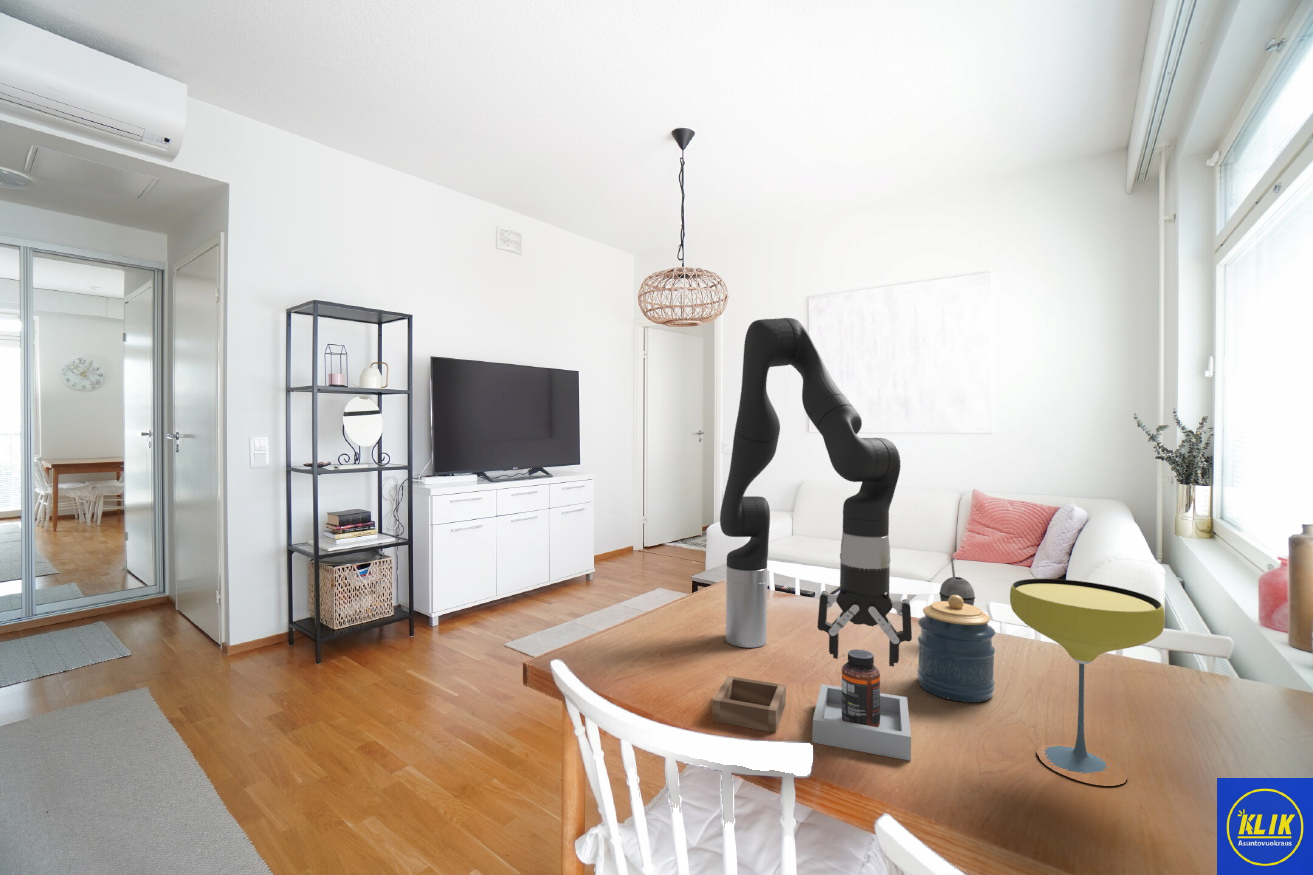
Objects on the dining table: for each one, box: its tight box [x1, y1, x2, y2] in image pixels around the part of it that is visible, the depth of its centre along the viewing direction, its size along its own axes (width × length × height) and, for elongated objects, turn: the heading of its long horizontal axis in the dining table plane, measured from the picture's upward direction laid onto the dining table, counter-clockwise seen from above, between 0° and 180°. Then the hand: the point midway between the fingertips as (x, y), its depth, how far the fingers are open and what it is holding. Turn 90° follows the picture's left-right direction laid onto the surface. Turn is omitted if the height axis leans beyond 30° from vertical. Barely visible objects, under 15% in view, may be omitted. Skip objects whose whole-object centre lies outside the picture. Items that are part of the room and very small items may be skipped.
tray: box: [812, 683, 912, 762], centre depth 95 cm, size 14×14×4 cm
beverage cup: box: [939, 557, 976, 606], centre depth 133 cm, size 7×7×20 cm
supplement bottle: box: [841, 648, 881, 727], centre depth 95 cm, size 6×6×11 cm
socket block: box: [712, 675, 787, 733], centre depth 101 cm, size 10×10×4 cm
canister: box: [917, 595, 996, 703], centre depth 111 cm, size 13×13×18 cm
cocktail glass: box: [1009, 578, 1166, 774], centre depth 86 cm, size 18×18×25 cm
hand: (863, 660), depth 95 cm, fingers open, 8 cm apart
